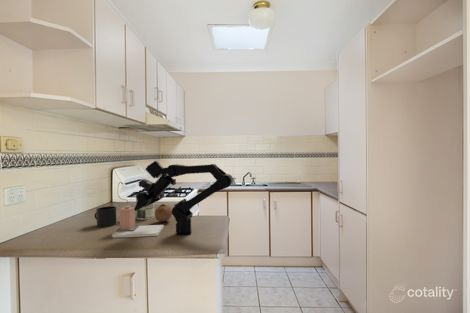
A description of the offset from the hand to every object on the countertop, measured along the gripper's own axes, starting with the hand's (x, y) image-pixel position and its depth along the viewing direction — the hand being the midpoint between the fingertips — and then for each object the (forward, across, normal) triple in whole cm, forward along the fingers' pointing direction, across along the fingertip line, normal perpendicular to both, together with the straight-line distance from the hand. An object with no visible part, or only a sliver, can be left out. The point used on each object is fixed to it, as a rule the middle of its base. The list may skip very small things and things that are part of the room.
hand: (139, 208), depth 124 cm
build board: (+8, +1, +8) cm, 11 cm away
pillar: (+12, 0, +2) cm, 12 cm away
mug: (+27, -10, -10) cm, 30 cm away
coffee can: (+16, -27, 0) cm, 31 cm away
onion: (+5, -18, +11) cm, 21 cm away
